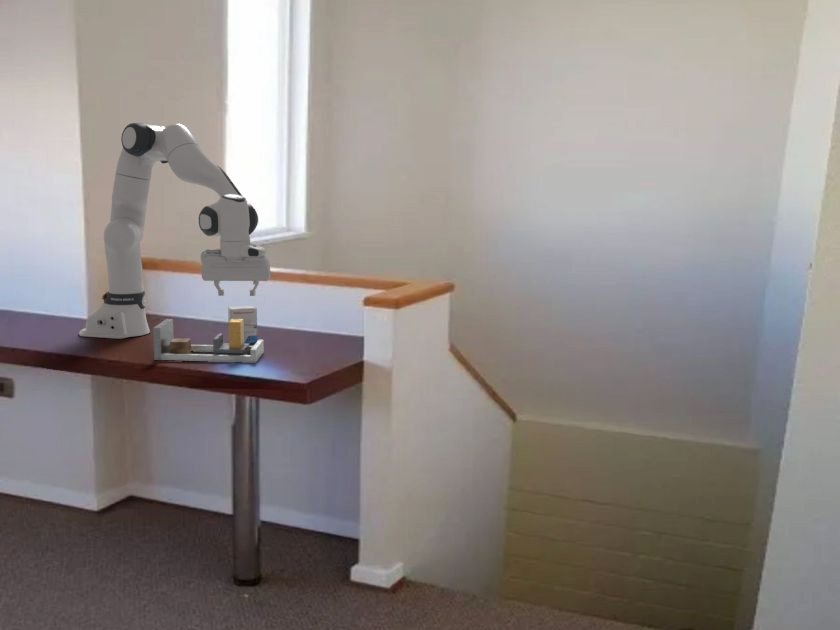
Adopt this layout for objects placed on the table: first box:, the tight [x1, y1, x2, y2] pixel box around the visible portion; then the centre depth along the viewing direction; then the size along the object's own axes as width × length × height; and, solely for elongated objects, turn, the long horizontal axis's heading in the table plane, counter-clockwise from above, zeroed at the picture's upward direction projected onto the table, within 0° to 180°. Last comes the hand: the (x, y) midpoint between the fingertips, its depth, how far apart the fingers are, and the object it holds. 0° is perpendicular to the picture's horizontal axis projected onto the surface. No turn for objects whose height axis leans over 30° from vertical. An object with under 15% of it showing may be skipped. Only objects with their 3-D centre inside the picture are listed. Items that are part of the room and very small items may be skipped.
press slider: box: [212, 319, 250, 355], centre depth 270 cm, size 9×9×11 cm
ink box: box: [227, 305, 258, 345], centre depth 290 cm, size 9×5×12 cm, turn 112°
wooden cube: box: [170, 337, 192, 354], centre depth 271 cm, size 5×5×5 cm
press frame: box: [152, 318, 265, 364], centre depth 270 cm, size 30×14×10 cm, turn 90°
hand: (237, 295), depth 268 cm, fingers open, 8 cm apart
